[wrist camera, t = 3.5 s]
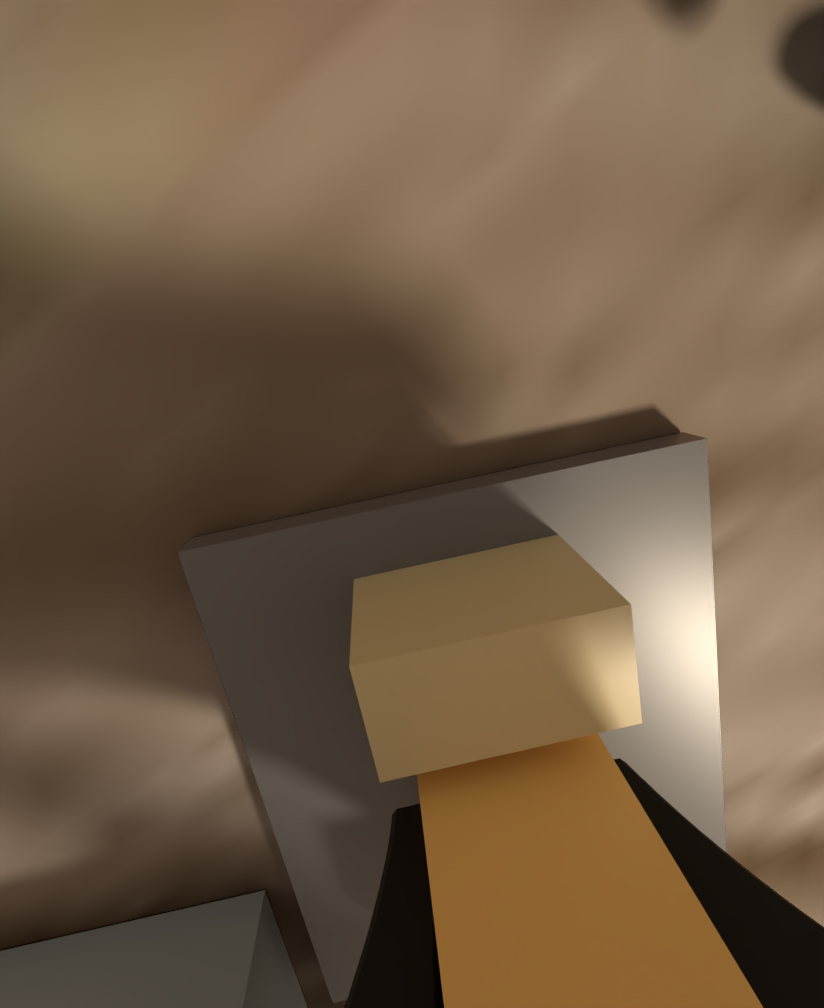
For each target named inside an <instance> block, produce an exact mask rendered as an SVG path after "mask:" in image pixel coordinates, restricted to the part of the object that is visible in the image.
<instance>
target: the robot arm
mask: <svg viewBox="0 0 824 1008" xmlns="http://www.w3.org/2000/svg"><path fill="white" fill-rule="evenodd" d="M614 761H615V763H616V764H617V766H618V768H619V769H620V771H621V773H622V774H623V776H624V778H625V779H626V781H627V782H628V784H629V786H630V787H631V789H632V791H633V792H634V794H635V796H636V797H637V799H638V801H639V802H640V804H641V806H642V807H643V809H644V811H645V812H646V814H647V816H648V817H649V819H650V821H651V822H652V824H653V826H654V827H655V829H656V831H657V832H658V834H659V836H660V837H661V839H662V840H663V842H664V844H665V845H666V847H667V849H668V850H669V852H670V854H671V855H672V857H673V859H674V860H675V862H676V864H677V865H678V867H679V869H680V870H681V872H682V874H683V875H684V877H685V879H686V880H687V882H688V884H689V885H690V887H691V889H692V890H693V892H694V893H695V895H696V897H697V898H698V900H699V902H700V903H701V905H702V907H703V908H704V910H705V912H706V913H707V915H708V917H709V918H710V920H711V922H712V923H713V925H714V927H715V928H716V930H717V932H718V933H719V935H720V937H721V938H722V940H723V942H724V943H725V945H726V946H727V948H728V950H729V951H730V953H731V955H732V956H733V958H734V960H735V961H736V963H737V965H738V966H739V968H740V970H741V971H742V973H743V975H744V976H745V978H746V980H747V981H748V983H749V985H750V986H751V988H752V990H753V991H754V993H755V995H756V996H757V998H758V1000H759V1001H760V1003H761V1004H762V1006H763V1008H824V927H823V926H821V925H820V924H818V923H817V922H816V921H814V920H813V919H812V918H810V917H809V916H807V915H806V914H805V913H803V912H802V911H801V910H799V909H798V908H797V907H795V906H794V905H792V904H791V903H790V902H788V901H787V900H786V899H784V898H783V897H782V896H781V895H779V894H778V893H777V892H775V891H774V890H773V889H771V888H770V887H769V886H768V885H766V884H765V883H764V882H762V881H761V880H760V879H758V878H757V877H756V876H755V875H753V874H752V873H751V872H750V871H748V870H747V869H746V868H745V867H743V866H742V865H741V864H740V863H738V862H737V861H736V860H735V859H733V858H732V857H731V856H730V855H729V854H727V853H726V852H725V851H724V850H723V849H721V848H720V847H719V846H718V845H717V844H715V843H714V842H713V841H712V840H711V839H710V838H708V837H707V836H706V835H705V834H704V833H702V832H701V831H700V830H699V829H698V828H696V827H695V826H694V825H693V824H692V823H691V822H690V821H688V820H687V819H686V818H685V817H684V816H683V815H682V814H681V813H679V812H678V811H677V810H676V809H675V808H674V807H673V806H672V805H671V804H669V803H668V802H667V801H666V800H665V799H664V798H663V797H662V796H661V795H660V794H658V793H657V792H656V791H655V790H654V789H653V788H652V787H651V786H650V785H649V784H648V783H647V782H646V781H645V780H644V779H642V778H641V777H640V776H639V775H638V774H637V773H636V772H635V771H634V770H633V769H632V768H631V767H630V766H629V765H628V764H627V763H626V762H625V761H623V760H621V759H620V758H618V759H614ZM344 1008H444V1001H443V993H442V984H441V976H440V967H439V959H438V950H437V942H436V933H435V925H434V916H433V908H432V899H431V891H430V883H429V874H428V866H427V857H426V849H425V840H424V832H423V823H422V815H421V806H420V804H415V805H411V806H407V807H402V808H398V809H396V810H395V812H394V813H393V814H392V820H391V830H390V836H389V843H388V849H387V854H386V859H385V864H384V869H383V873H382V878H381V883H380V887H379V891H378V895H377V899H376V903H375V907H374V910H373V914H372V918H371V922H370V926H369V930H368V933H367V937H366V940H365V944H364V947H363V950H362V954H361V957H360V960H359V963H358V966H357V970H356V973H355V976H354V979H353V982H352V986H351V989H350V992H349V995H348V998H347V1001H346V1004H345V1007H344Z"/></svg>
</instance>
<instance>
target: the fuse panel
mask: <svg viewBox="0 0 824 1008" xmlns="http://www.w3.org/2000/svg"><path fill="white" fill-rule="evenodd" d="M177 553H178V556H179V559H180V562H181V565H182V568H183V571H184V574H185V577H186V580H187V582H188V585H189V588H190V591H191V594H192V597H193V600H194V603H195V606H196V609H197V611H198V614H199V617H200V620H201V623H202V626H203V629H204V632H205V635H206V638H207V640H208V643H209V646H210V649H211V652H212V655H213V658H214V661H215V664H216V667H217V669H218V672H219V675H220V678H221V681H222V684H223V687H224V690H225V693H226V695H227V698H228V701H229V704H230V707H231V710H232V713H233V716H234V719H235V722H236V724H237V727H238V730H239V733H240V736H241V739H242V742H243V745H244V748H245V751H246V753H247V756H248V759H249V762H250V765H251V768H252V771H253V774H254V777H255V780H256V782H257V785H258V788H259V791H260V794H261V797H262V800H263V803H264V806H265V808H266V811H267V814H268V817H269V820H270V823H271V826H272V829H273V832H274V835H275V837H276V840H277V843H278V846H279V849H280V852H281V855H282V858H283V861H284V864H285V866H286V869H287V872H288V875H289V878H290V881H291V884H292V887H293V890H294V893H295V895H296V898H297V901H298V904H299V907H300V910H301V913H302V916H303V919H304V921H305V924H306V927H307V930H308V933H309V936H310V939H311V942H312V945H313V948H314V950H315V953H316V956H317V959H318V962H319V965H320V968H321V971H322V974H323V977H324V979H325V982H326V985H327V988H328V991H329V994H330V997H331V1000H332V1003H337V1002H341V1001H345V1000H347V998H348V995H349V992H350V989H351V986H352V982H353V979H354V976H355V973H356V970H357V966H358V963H359V960H360V957H361V954H362V950H363V947H364V944H365V940H366V937H367V933H368V930H369V926H370V922H371V918H372V914H373V910H374V907H375V903H376V899H377V895H378V891H379V887H380V883H381V878H382V873H383V869H384V864H385V859H386V854H387V849H388V843H389V836H390V830H391V820H392V814H393V813H394V812H395V810H396V809H398V808H402V807H407V806H411V805H415V804H420V798H419V789H418V781H417V774H421V773H425V772H429V771H434V770H438V769H443V768H447V767H452V766H456V765H460V764H465V763H469V762H474V761H478V760H482V759H487V758H491V757H496V756H500V755H504V754H509V753H513V752H518V751H522V750H527V749H531V748H535V747H540V746H544V745H549V744H553V743H557V742H562V741H566V740H571V739H575V738H579V737H584V736H588V735H593V734H597V733H598V734H599V736H600V738H601V739H602V741H603V743H604V744H605V746H606V748H607V749H608V751H609V753H610V754H611V756H612V758H613V759H618V758H620V759H621V760H623V761H625V762H626V763H627V764H628V765H629V766H630V767H631V768H632V769H633V770H634V771H635V772H636V773H637V774H638V775H639V776H640V777H641V778H642V779H644V780H645V781H646V782H647V783H648V784H649V785H650V786H651V787H652V788H653V789H654V790H655V791H656V792H657V793H658V794H660V795H661V796H662V797H663V798H664V799H665V800H666V801H667V802H668V803H669V804H671V805H672V806H673V807H674V808H675V809H676V810H677V811H678V812H679V813H681V814H682V815H683V816H684V817H685V818H686V819H687V820H688V821H690V822H691V823H692V824H693V825H694V826H695V827H696V828H698V829H699V830H700V831H701V832H702V833H704V834H705V835H706V836H707V837H708V838H710V839H711V840H712V841H713V842H714V843H715V844H717V845H718V846H719V847H720V848H721V849H723V850H724V851H725V852H726V839H725V818H724V796H723V775H722V754H721V732H720V711H719V689H718V668H717V647H716V625H715V604H714V583H713V561H712V540H711V519H710V497H709V476H708V454H707V438H703V437H699V436H695V435H691V434H688V433H684V432H682V433H677V434H673V435H668V436H664V437H659V438H654V439H650V440H645V441H640V442H636V443H631V444H626V445H622V446H617V447H612V448H608V449H603V450H598V451H594V452H589V453H584V454H580V455H575V456H570V457H566V458H561V459H556V460H552V461H547V462H542V463H538V464H533V465H529V466H524V467H519V468H515V469H510V470H505V471H501V472H496V473H491V474H487V475H482V476H477V477H473V478H468V479H463V480H459V481H454V482H449V483H445V484H440V485H435V486H431V487H426V488H421V489H417V490H412V491H407V492H403V493H398V494H393V495H389V496H384V497H380V498H375V499H370V500H366V501H361V502H356V503H352V504H347V505H342V506H338V507H333V508H328V509H324V510H319V511H314V512H310V513H305V514H300V515H296V516H291V517H286V518H282V519H277V520H272V521H268V522H263V523H258V524H254V525H249V526H245V527H240V528H235V529H231V530H226V531H221V532H217V533H212V534H207V535H203V536H198V537H193V538H190V539H189V540H188V541H187V542H186V544H185V545H184V546H183V547H182V548H181V549H180V550H179V551H178V552H177Z"/></svg>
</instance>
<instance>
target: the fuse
mask: <svg viewBox="0 0 824 1008" xmlns="http://www.w3.org/2000/svg"><path fill="white" fill-rule="evenodd" d="M417 781H418V789H419V798H420V806H421V815H422V823H423V832H424V840H425V849H426V857H427V866H428V874H429V883H430V891H431V899H432V908H433V916H434V925H435V933H436V942H437V950H438V959H439V967H440V976H441V984H442V993H443V1001H444V1008H763V1006H762V1004H761V1003H760V1001H759V1000H758V998H757V996H756V995H755V993H754V991H753V990H752V988H751V986H750V985H749V983H748V981H747V980H746V978H745V976H744V975H743V973H742V971H741V970H740V968H739V966H738V965H737V963H736V961H735V960H734V958H733V956H732V955H731V953H730V951H729V950H728V948H727V946H726V945H725V943H724V942H723V940H722V938H721V937H720V935H719V933H718V932H717V930H716V928H715V927H714V925H713V923H712V922H711V920H710V918H709V917H708V915H707V913H706V912H705V910H704V908H703V907H702V905H701V903H700V902H699V900H698V898H697V897H696V895H695V893H694V892H693V890H692V889H691V887H690V885H689V884H688V882H687V880H686V879H685V877H684V875H683V874H682V872H681V870H680V869H679V867H678V865H677V864H676V862H675V860H674V859H673V857H672V855H671V854H670V852H669V850H668V849H667V847H666V845H665V844H664V842H663V840H662V839H661V837H660V836H659V834H658V832H657V831H656V829H655V827H654V826H653V824H652V822H651V821H650V819H649V817H648V816H647V814H646V812H645V811H644V809H643V807H642V806H641V804H640V802H639V801H638V799H637V797H636V796H635V794H634V792H633V791H632V789H631V787H630V786H629V784H628V782H627V781H626V779H625V778H624V776H623V774H622V773H621V771H620V769H619V768H618V766H617V764H616V763H615V761H614V759H613V758H612V756H611V754H610V753H609V751H608V749H607V748H606V746H605V744H604V743H603V741H602V739H601V738H600V736H599V734H598V733H597V734H593V735H588V736H584V737H579V738H575V739H571V740H566V741H562V742H557V743H553V744H549V745H544V746H540V747H535V748H531V749H527V750H522V751H518V752H513V753H509V754H504V755H500V756H496V757H491V758H487V759H482V760H478V761H474V762H469V763H465V764H460V765H456V766H452V767H447V768H443V769H438V770H434V771H429V772H425V773H421V774H417Z"/></svg>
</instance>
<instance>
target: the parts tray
mask: <svg viewBox="0 0 824 1008" xmlns="http://www.w3.org/2000/svg"><path fill="white" fill-rule="evenodd" d="M0 1008H308V1007H307V1004H306V1002H305V999H304V996H303V993H302V991H301V988H300V985H299V982H298V980H297V977H296V974H295V972H294V969H293V966H292V963H291V961H290V958H289V955H288V952H287V950H286V947H285V944H284V941H283V939H282V936H281V933H280V930H279V928H278V925H277V922H276V919H275V917H274V914H273V911H272V909H271V906H270V903H269V900H268V898H267V895H266V892H265V890H263V891H259V892H255V893H250V894H246V895H242V896H237V897H233V898H229V899H224V900H220V901H216V902H211V903H207V904H203V905H198V906H194V907H190V908H185V909H181V910H177V911H172V912H168V913H163V914H159V915H155V916H150V917H146V918H142V919H137V920H133V921H129V922H124V923H120V924H116V925H111V926H107V927H103V928H98V929H94V930H90V931H85V932H81V933H77V934H72V935H68V936H64V937H59V938H55V939H50V940H46V941H42V942H37V943H33V944H29V945H24V946H20V947H16V948H11V949H7V950H3V951H0Z"/></svg>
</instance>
